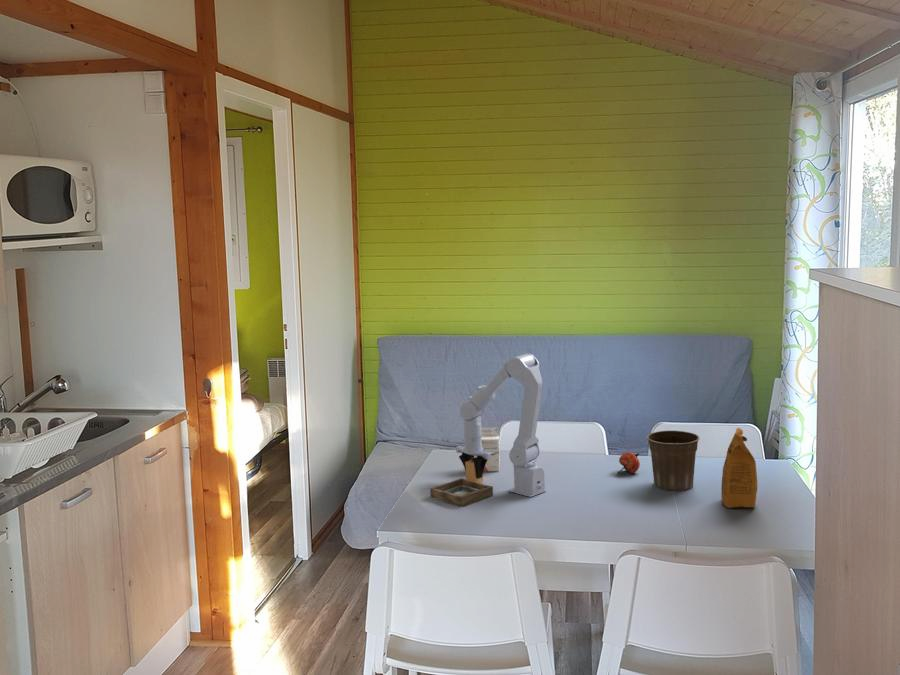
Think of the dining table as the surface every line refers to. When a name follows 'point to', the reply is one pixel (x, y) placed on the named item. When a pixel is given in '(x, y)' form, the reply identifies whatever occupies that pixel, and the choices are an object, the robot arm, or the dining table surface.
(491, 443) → the ink cartridge box
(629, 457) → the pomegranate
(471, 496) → the walled box
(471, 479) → the tan tall block
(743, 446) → the coffee package
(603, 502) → the dining table surface
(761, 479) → the dining table surface
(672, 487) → the plant pot
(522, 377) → the robot arm
